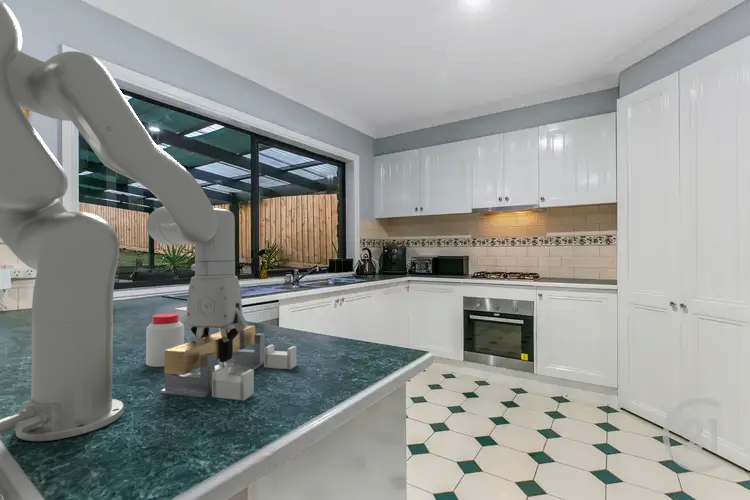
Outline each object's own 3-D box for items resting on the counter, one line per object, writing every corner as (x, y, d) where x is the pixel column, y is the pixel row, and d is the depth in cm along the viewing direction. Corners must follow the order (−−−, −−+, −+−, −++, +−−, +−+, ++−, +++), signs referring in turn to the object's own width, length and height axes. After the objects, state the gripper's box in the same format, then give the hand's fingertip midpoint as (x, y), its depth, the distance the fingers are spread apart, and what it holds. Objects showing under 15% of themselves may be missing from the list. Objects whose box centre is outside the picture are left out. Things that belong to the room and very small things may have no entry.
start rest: (244, 400, 65) (244, 374, 65) (211, 396, 66) (212, 372, 66) (296, 365, 85) (296, 346, 86) (270, 363, 87) (270, 344, 87)
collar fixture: (203, 397, 66) (204, 346, 66) (160, 393, 68) (161, 343, 68) (266, 362, 88) (267, 324, 88) (232, 360, 90) (232, 322, 90)
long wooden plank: (184, 375, 65) (184, 351, 65) (164, 373, 66) (164, 350, 66) (255, 343, 87) (255, 325, 87) (239, 342, 88) (239, 324, 88)
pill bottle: (154, 369, 83) (155, 319, 83) (140, 362, 87) (140, 315, 88) (189, 361, 89) (190, 314, 89) (174, 355, 94) (174, 311, 94)
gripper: (166, 270, 75) (166, 362, 75) (241, 271, 71) (241, 368, 71) (192, 268, 82) (193, 352, 82) (262, 269, 78) (262, 357, 78)
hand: (215, 358), depth 76 cm, fingers closed on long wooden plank, 4 cm apart
